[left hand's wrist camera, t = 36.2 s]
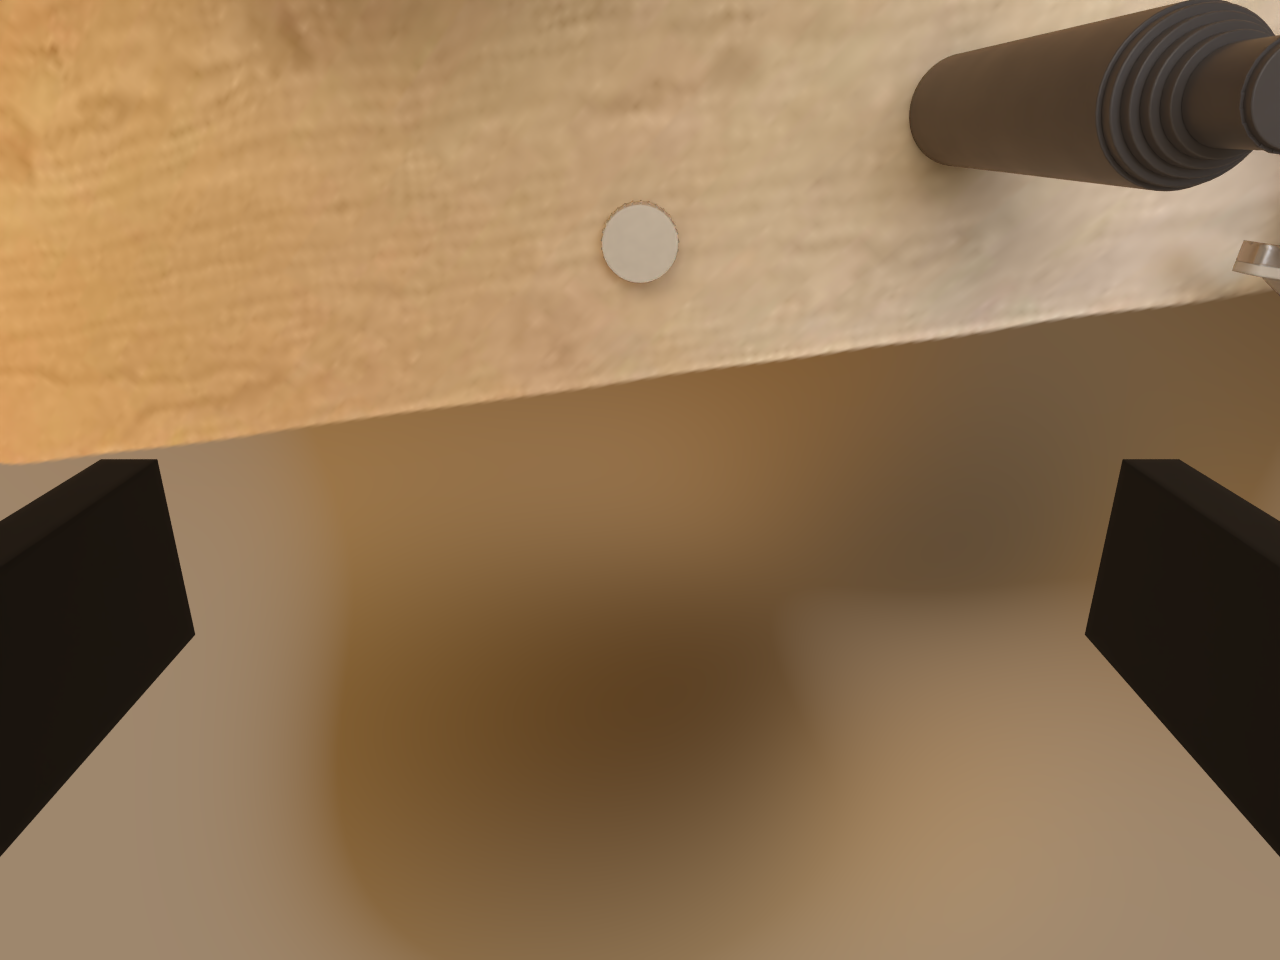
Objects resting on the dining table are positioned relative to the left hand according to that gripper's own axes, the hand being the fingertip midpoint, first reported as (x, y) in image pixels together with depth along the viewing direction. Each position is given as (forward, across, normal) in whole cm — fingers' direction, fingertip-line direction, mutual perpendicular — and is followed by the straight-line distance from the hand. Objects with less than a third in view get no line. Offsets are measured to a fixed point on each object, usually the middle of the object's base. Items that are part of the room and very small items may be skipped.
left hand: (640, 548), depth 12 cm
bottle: (+38, +16, +6) cm, 42 cm away
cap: (+36, 0, 0) cm, 36 cm away
